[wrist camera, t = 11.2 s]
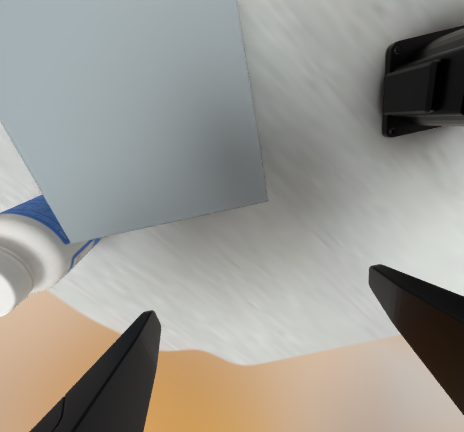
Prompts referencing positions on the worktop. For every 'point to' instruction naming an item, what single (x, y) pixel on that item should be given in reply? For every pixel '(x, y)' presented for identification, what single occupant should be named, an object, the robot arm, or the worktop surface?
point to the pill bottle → (34, 252)
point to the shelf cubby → (130, 110)
